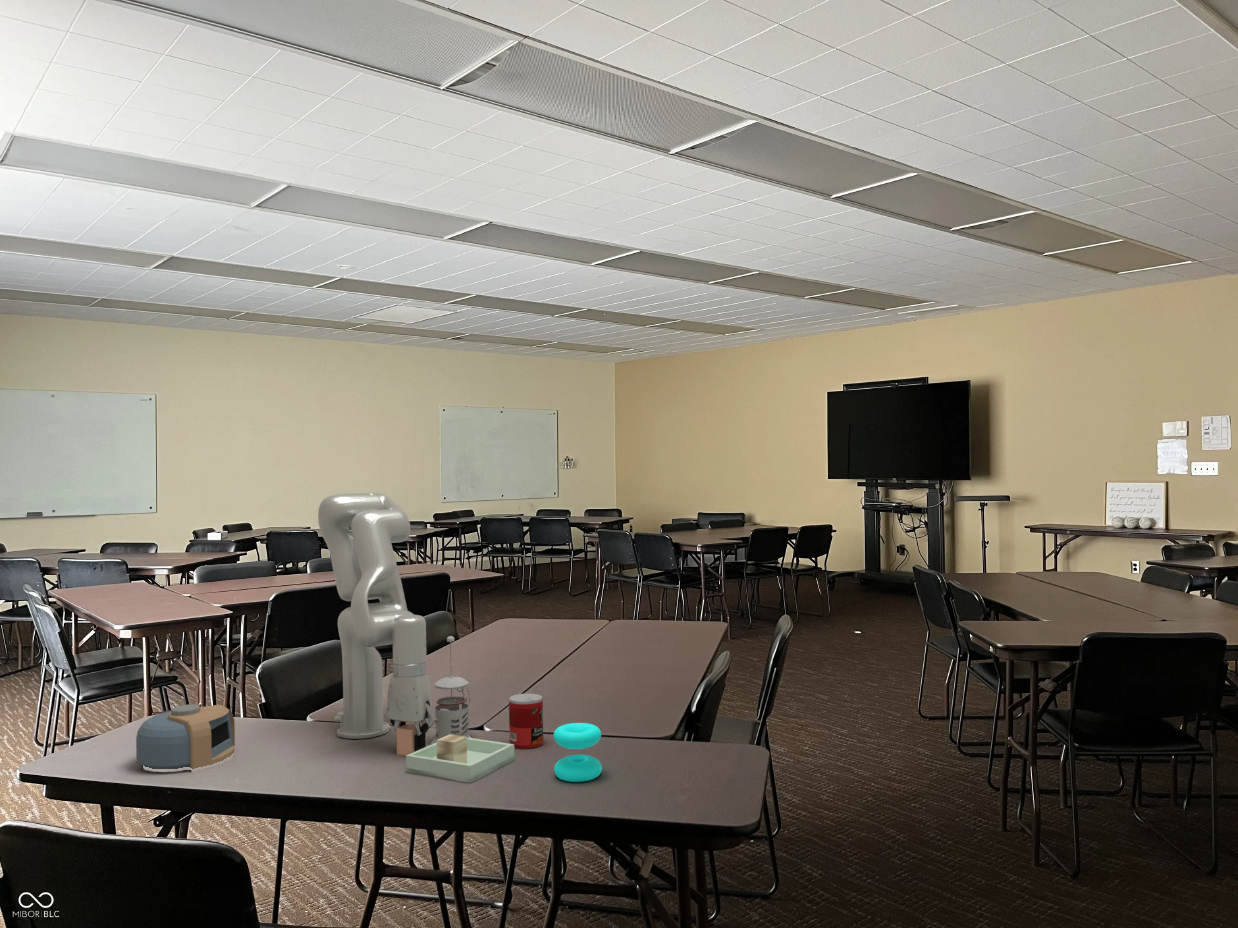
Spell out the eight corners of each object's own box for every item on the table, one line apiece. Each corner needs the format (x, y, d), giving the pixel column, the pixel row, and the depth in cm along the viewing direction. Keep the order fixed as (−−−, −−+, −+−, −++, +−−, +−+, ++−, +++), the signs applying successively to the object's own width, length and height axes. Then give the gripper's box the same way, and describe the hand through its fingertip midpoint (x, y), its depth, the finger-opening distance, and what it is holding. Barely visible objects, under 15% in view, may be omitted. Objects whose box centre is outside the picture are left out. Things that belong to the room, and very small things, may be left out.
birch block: (437, 768, 188) (436, 739, 188) (450, 761, 192) (449, 734, 192) (454, 770, 186) (453, 742, 186) (467, 764, 190) (466, 736, 190)
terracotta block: (397, 754, 201) (396, 727, 201) (410, 748, 205) (409, 722, 205) (412, 756, 199) (411, 730, 199) (425, 751, 203) (424, 725, 203)
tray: (406, 771, 189) (406, 755, 189) (452, 750, 203) (452, 735, 203) (470, 782, 181) (470, 765, 181) (514, 760, 195) (514, 744, 195)
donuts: (571, 718, 192) (610, 724, 186) (572, 765, 191) (611, 772, 186) (543, 730, 183) (583, 737, 178) (544, 778, 183) (584, 786, 178)
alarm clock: (207, 774, 190) (206, 718, 190) (117, 774, 191) (116, 718, 191) (249, 747, 209) (248, 696, 209) (167, 747, 210) (166, 696, 210)
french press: (423, 744, 208) (421, 638, 208) (450, 731, 219) (448, 630, 219) (458, 748, 204) (456, 640, 205) (484, 734, 215) (482, 632, 216)
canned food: (538, 749, 202) (537, 701, 203) (505, 748, 204) (504, 700, 204) (547, 740, 210) (546, 693, 210) (515, 738, 212) (514, 692, 212)
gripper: (370, 670, 203) (371, 749, 203) (428, 676, 195) (429, 759, 195) (392, 663, 210) (394, 740, 210) (449, 669, 202) (450, 749, 202)
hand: (411, 748), depth 202 cm, fingers closed on terracotta block, 4 cm apart
